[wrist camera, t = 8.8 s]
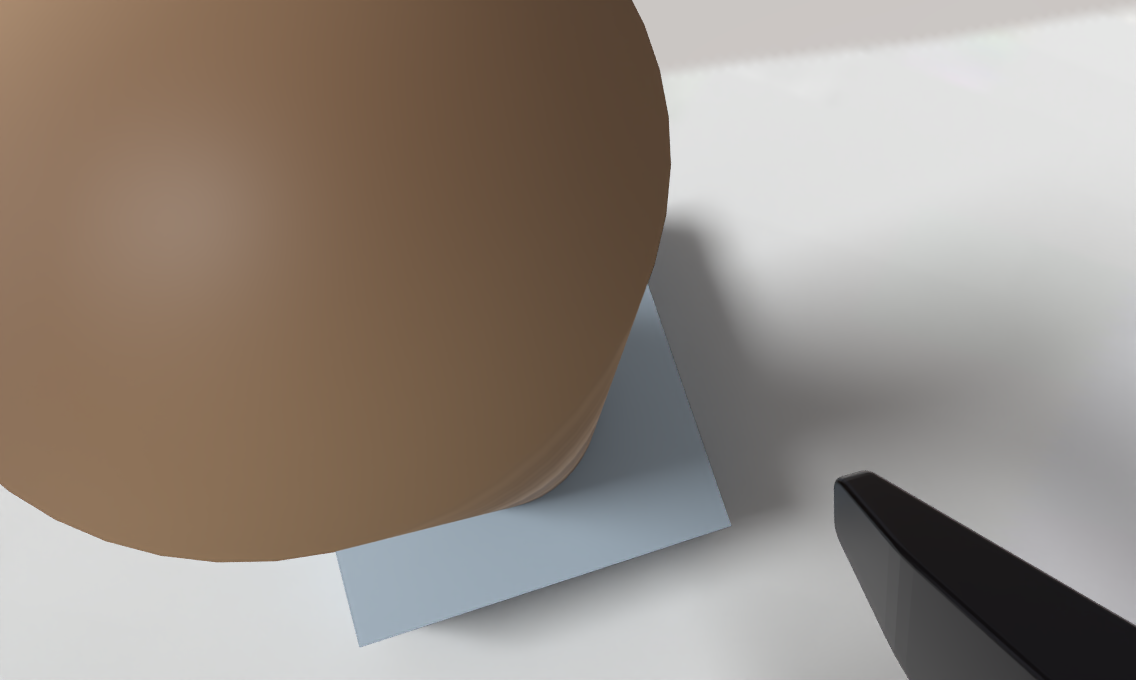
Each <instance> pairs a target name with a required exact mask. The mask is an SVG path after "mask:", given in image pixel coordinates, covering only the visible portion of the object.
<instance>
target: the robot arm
mask: <svg viewBox="0 0 1136 680" xmlns="http://www.w3.org/2000/svg"><path fill="white" fill-rule="evenodd" d="M834 523H835V529H836V533H837V536H838V539H839V541H840V543H841V545H842V548H843V550H844V552H845V554H846V556H847V558H848V560H849V562H850V564H851V566H852V568H853V571H854V573H855V575H856V577H857V579H858V581H859V583H860V585H861V587H862V589H863V591H864V593H865V596H866V598H867V600H868V602H869V604H870V606H871V608H872V610H873V612H874V614H875V616H876V618H877V621H878V623H879V625H880V627H881V629H882V631H883V633H884V635H885V637H886V639H887V641H888V643H889V645H890V647H891V649H892V651H893V653H894V655H895V657H896V658H897V660H898V662H899V663H900V665H901V667H902V669H903V670H904V672H905V674H906V675H907V677H908V678H909V680H1136V625H1134V624H1132V623H1130V622H1129V621H1127V620H1125V619H1124V618H1122V617H1120V616H1118V615H1117V614H1115V613H1113V612H1112V611H1110V610H1108V609H1106V608H1105V607H1103V606H1101V605H1100V604H1098V603H1096V602H1095V601H1093V600H1091V599H1089V598H1088V597H1086V596H1084V595H1083V594H1081V593H1079V592H1077V591H1076V590H1074V589H1072V588H1071V587H1069V586H1067V585H1065V584H1064V583H1062V582H1060V581H1059V580H1057V579H1055V578H1053V577H1052V576H1050V575H1048V574H1047V573H1045V572H1043V571H1041V570H1040V569H1038V568H1036V567H1035V566H1033V565H1031V564H1029V563H1028V562H1026V561H1024V560H1023V559H1021V558H1019V557H1017V556H1016V555H1014V554H1012V553H1011V552H1009V551H1007V550H1005V549H1004V548H1002V547H1000V546H999V545H997V544H995V543H993V542H992V541H990V540H988V539H987V538H985V537H983V536H981V535H980V534H978V533H976V532H975V531H973V530H971V529H969V528H968V527H966V526H964V525H963V524H961V523H959V522H958V521H956V520H954V519H952V518H951V517H949V516H947V515H946V514H944V513H942V512H940V511H939V510H937V509H935V508H934V507H932V506H930V505H928V504H927V503H925V502H923V501H922V500H920V499H918V498H916V497H915V496H913V495H911V494H910V493H908V492H906V491H904V490H903V489H901V488H899V487H898V486H896V485H894V484H892V483H891V482H889V481H887V480H886V479H884V478H882V477H880V476H879V475H877V474H875V473H873V472H871V471H866V470H865V471H859V472H856V473H852V474H849V475H845V476H842V477H839V478H838V479H837V480H836V482H835V485H834Z"/></svg>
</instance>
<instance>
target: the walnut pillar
mask: <svg viewBox="0 0 1136 680" xmlns="http://www.w3.org/2000/svg"><path fill="white" fill-rule="evenodd" d="M670 169H671V157H670V137H669V116H668V111H667V106H666V100H665V95H664V90H663V85H662V79H661V74H660V69H659V66H658V63H657V61H656V57H655V55H654V52H653V49H652V46H651V43H650V40H649V37H648V34H647V31H646V28H645V26H644V23H643V21H642V19H641V17H640V15H639V13H638V11H637V9H636V8H635V6H634V4H633V2H632V0H0V484H1V485H2V486H3V487H5V488H6V489H7V490H8V491H9V492H11V493H13V494H14V495H16V496H18V497H19V498H21V499H22V500H24V501H26V502H27V503H29V504H31V505H32V506H34V507H35V508H37V509H39V510H40V511H42V512H44V513H45V514H47V515H49V516H50V517H52V518H53V519H55V520H57V521H60V522H62V523H64V524H67V525H69V526H72V527H74V528H76V529H79V530H81V531H83V532H86V533H88V534H90V535H93V536H95V537H97V538H100V539H102V540H104V541H107V542H111V543H115V544H119V545H122V546H126V547H130V548H134V549H138V550H141V551H145V552H149V553H153V554H156V555H160V556H168V557H177V558H185V559H194V560H202V561H211V562H258V561H280V560H286V559H293V558H299V557H305V556H312V555H318V554H325V553H331V552H336V551H340V550H344V549H348V548H352V547H356V546H360V545H364V544H368V543H372V542H376V541H380V540H384V539H388V538H392V537H396V536H400V535H404V534H408V533H412V532H416V531H420V530H424V529H427V528H431V527H435V526H439V525H443V524H447V523H451V522H455V521H459V520H463V519H467V518H471V517H475V516H479V515H483V514H487V513H491V512H495V511H499V510H503V509H507V508H511V507H515V506H518V505H522V504H525V503H528V502H531V501H533V500H535V499H537V498H540V497H542V496H543V495H545V494H547V493H548V492H550V491H551V490H553V489H554V488H556V487H557V486H558V485H559V484H560V483H562V482H563V481H564V480H565V479H566V478H567V477H568V476H569V475H570V474H571V473H572V472H573V470H574V469H575V468H576V466H577V465H578V464H579V462H580V461H581V459H582V458H583V456H584V454H585V452H586V450H587V448H588V446H589V444H590V441H591V438H592V436H593V433H594V430H595V428H596V425H597V422H598V419H599V417H600V414H601V411H602V408H603V406H604V403H605V400H606V397H607V395H608V392H609V389H610V386H611V383H612V381H613V378H614V375H615V372H616V370H617V367H618V364H619V361H620V359H621V356H622V353H623V350H624V348H625V345H626V342H627V339H628V336H629V334H630V331H631V328H632V325H633V323H634V320H635V317H636V314H637V312H638V309H639V306H640V303H641V301H642V298H643V295H644V292H645V289H646V287H647V284H648V281H649V278H650V276H651V273H652V270H653V267H654V265H655V260H656V256H657V252H658V248H659V243H660V239H661V235H662V231H663V226H664V222H665V218H666V212H667V201H668V190H669V180H670Z"/></svg>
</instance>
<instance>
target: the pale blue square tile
mask: <svg viewBox="0 0 1136 680" xmlns="http://www.w3.org/2000/svg"><path fill="white" fill-rule="evenodd" d="M730 526H731V523H730V520H729V517H728V514H727V511H726V509H725V506H724V503H723V500H722V497H721V494H720V491H719V488H718V485H717V483H716V480H715V477H714V474H713V471H712V468H711V465H710V462H709V459H708V457H707V454H706V451H705V448H704V445H703V442H702V439H701V436H700V433H699V430H698V428H697V425H696V422H695V419H694V416H693V413H692V410H691V407H690V404H689V402H688V399H687V396H686V393H685V390H684V387H683V384H682V381H681V378H680V376H679V373H678V370H677V367H676V364H675V361H674V358H673V355H672V352H671V350H670V347H669V344H668V341H667V338H666V335H665V332H664V329H663V326H662V324H661V321H660V318H659V315H658V312H657V309H656V306H655V303H654V300H653V297H652V295H651V292H650V289H649V286H648V284H647V287H646V289H645V292H644V295H643V298H642V301H641V303H640V306H639V309H638V312H637V314H636V317H635V320H634V323H633V325H632V328H631V331H630V334H629V336H628V339H627V342H626V345H625V348H624V350H623V353H622V356H621V359H620V361H619V364H618V367H617V370H616V372H615V375H614V378H613V381H612V383H611V386H610V389H609V392H608V395H607V397H606V400H605V403H604V406H603V408H602V411H601V414H600V417H599V419H598V422H597V425H596V428H595V430H594V433H593V436H592V438H591V441H590V444H589V446H588V448H587V450H586V452H585V454H584V456H583V458H582V459H581V461H580V462H579V464H578V465H577V466H576V468H575V469H574V470H573V472H572V473H571V474H570V475H569V476H568V477H567V478H566V479H565V480H564V481H563V482H562V483H560V484H559V485H558V486H557V487H556V488H554V489H553V490H551V491H550V492H548V493H547V494H545V495H543V496H542V497H540V498H537V499H535V500H533V501H531V502H528V503H525V504H522V505H518V506H515V507H511V508H507V509H503V510H499V511H495V512H491V513H487V514H483V515H479V516H475V517H471V518H467V519H463V520H459V521H455V522H451V523H447V524H443V525H439V526H435V527H431V528H427V529H424V530H420V531H416V532H412V533H408V534H404V535H400V536H396V537H392V538H388V539H384V540H380V541H376V542H372V543H368V544H364V545H360V546H356V547H352V548H348V549H344V550H340V551H336V556H337V560H338V564H339V568H340V572H341V576H342V580H343V584H344V588H345V592H346V596H347V599H348V603H349V607H350V611H351V615H352V619H353V623H354V627H355V631H356V635H357V639H358V643H359V647H363V646H366V645H369V644H372V643H375V642H378V641H381V640H384V639H387V638H390V637H393V636H396V635H399V634H402V633H406V632H409V631H412V630H415V629H418V628H421V627H424V626H427V625H430V624H433V623H436V622H439V621H442V620H445V619H448V618H451V617H454V616H458V615H461V614H464V613H467V612H470V611H473V610H476V609H479V608H482V607H485V606H488V605H491V604H494V603H497V602H500V601H503V600H506V599H510V598H513V597H516V596H519V595H522V594H525V593H528V592H531V591H534V590H537V589H540V588H543V587H546V586H549V585H552V584H555V583H558V582H562V581H565V580H568V579H571V578H574V577H577V576H580V575H583V574H586V573H589V572H592V571H595V570H598V569H601V568H604V567H607V566H610V565H614V564H617V563H620V562H623V561H626V560H629V559H632V558H635V557H638V556H641V555H644V554H647V553H650V552H653V551H656V550H659V549H662V548H666V547H669V546H672V545H675V544H678V543H681V542H684V541H687V540H690V539H693V538H696V537H699V536H702V535H705V534H708V533H711V532H714V531H718V530H721V529H724V528H727V527H730Z"/></svg>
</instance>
